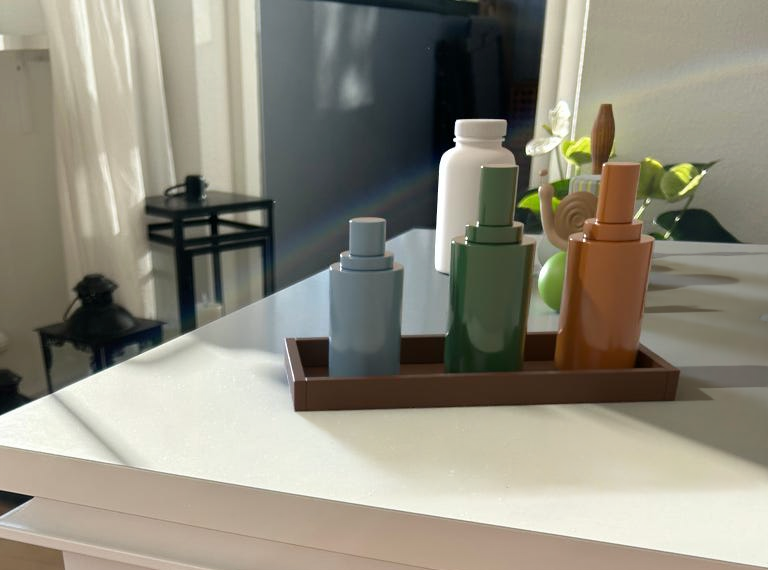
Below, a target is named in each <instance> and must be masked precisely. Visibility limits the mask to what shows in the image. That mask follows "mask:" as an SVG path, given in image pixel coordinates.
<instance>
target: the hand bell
mask: <svg viewBox="0 0 768 570" xmlns="http://www.w3.org/2000/svg"><path fill="white" fill-rule="evenodd" d="M615 136H616V121H615V117H614V112H613V104H612V103H600V105H599V107H598V111H597V114H596V116H595V119H594V121H593V124H592V127H591V132H590V140H589V141H590V143H589V145H590V156H591V157H590V158H591V165H592V166H591V174H590V175H601V173H602V165H603V163H606V162H609V159H610V157H611V154H612V151H613V148H614V147H613V146H614V142H615Z"/></svg>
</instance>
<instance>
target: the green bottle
mask: <svg viewBox="0 0 768 570" xmlns="http://www.w3.org/2000/svg"><path fill="white" fill-rule="evenodd" d="M519 170H520V166H519V165H517V164H515V165H512V164H487V165H482V166H481V175H480V188H479V201H478V215H477V221H471V222H468V223H467V224H466V233H465V235H461V236H457V237H454V238H453V239H452V240H451V255H450V271H449V274H448V288H447V289H448V290H447V302H446V304H447V305H446V316H445V317H446V319H445V333H444V334H445V348H444V364H443V374H451V373H488V372H523V368H524V358H525V349H526V339H527V332H528V328H529V318H530V310H531V309H530V308H531V299H532V290H533V280H534V271H535V261H536V252H537V239H535V238H533V237H530V236H526V235H524V232H525V224H524V222H520V221H515V215H516V214H515V213H516V203H517V202H516V201H517V194H518V193H517V191H518V180H519Z"/></svg>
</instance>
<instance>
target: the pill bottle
mask: <svg viewBox="0 0 768 570" xmlns="http://www.w3.org/2000/svg"><path fill="white" fill-rule="evenodd" d="M454 124H455V125H454V136H455V137H454V138H453V142H454V143H455V147H452V148H450V149H448V150H447V151H445V152H444V153H443V154H442V156H441V159H440V163H439V171H438V173H439V174H438V192H437V212H436V228H435V229H436V230H435V250H434V251H435V252H434V265H435V266H434V267H435V270H436V271H437V272H440V273H441V274H446V275H449V271H450V255H451V240H452V239H453V238H454V237H457V236H461V235H465V233H466V224H467V223H468V222H471V221H477V215H478V201H479V188H480V175H481V166H482V165H487V164H512V165H516V159H515V155H514V154H513V152H512V151H511V150H509V149H508V148H506V147H503V146H502V144H503V142H505V141H506V138H505V136H507V129H508V128H507V127H508V122H507V120H506V119H495V118H494V119H493V118H489V119H488V118H477V119H476V118H472V119H471V118H469V119H468V118H467V119H464V118H463V119H456V121H455V123H454Z"/></svg>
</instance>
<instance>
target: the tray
mask: <svg viewBox="0 0 768 570" xmlns="http://www.w3.org/2000/svg"><path fill="white" fill-rule="evenodd" d="M557 332H558V330H552V331H551V330H550V331H549V330H548V331H547V330H546V331H545V330H544V331H527V339H526V349H525V358H524V368H523V372H488V373H451V374H443V364H444V348H445V333H431V334H430V333H429V334H428V333H427V334H401V351H400V374H399V375H377V376H340V377H329V336H316V337H315V336H313V337H311V336H309V337H285V338H283V339H284V340H283V343H284V367H285V373H286V378H287V383H288V388H289V392H290V398H291V403H292V407H293V412H296V413H297V412H298V413H299V412H302V413H303V412H330V411H331V412H333V411H334V412H335V411H336V412H337V411H366V410H368V411H369V410H370V411H371V410H373V411H374V410H403V409H404V410H405V409H434V408H435V409H437V408H438V409H439V408H472V407H473V408H474V407H509V406H511V407H512V406H540V405H542V406H543V405H572V404H573V405H576V404H577V405H579V404H612V403H613V404H615V403H617V404H619V403H649V402H650V403H651V402H675V401H676V397H677V393H678V386H679V380H680V374H681V369H679V368H677V367H676V366H675V365H674V364H672V363H670V362H669V361H667V360H666V359H665V358H663V357H661V356H660V355H659V354H657V353H656V352H654V351H653V350H651V349H650V348H648V347H647V346H645V345H644V344H642V343H641V342H640V341H639V346H638V352H637V359H636V365H635V369H599V370H562V371H553V366H554V357H555V349H556V340H557Z"/></svg>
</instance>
